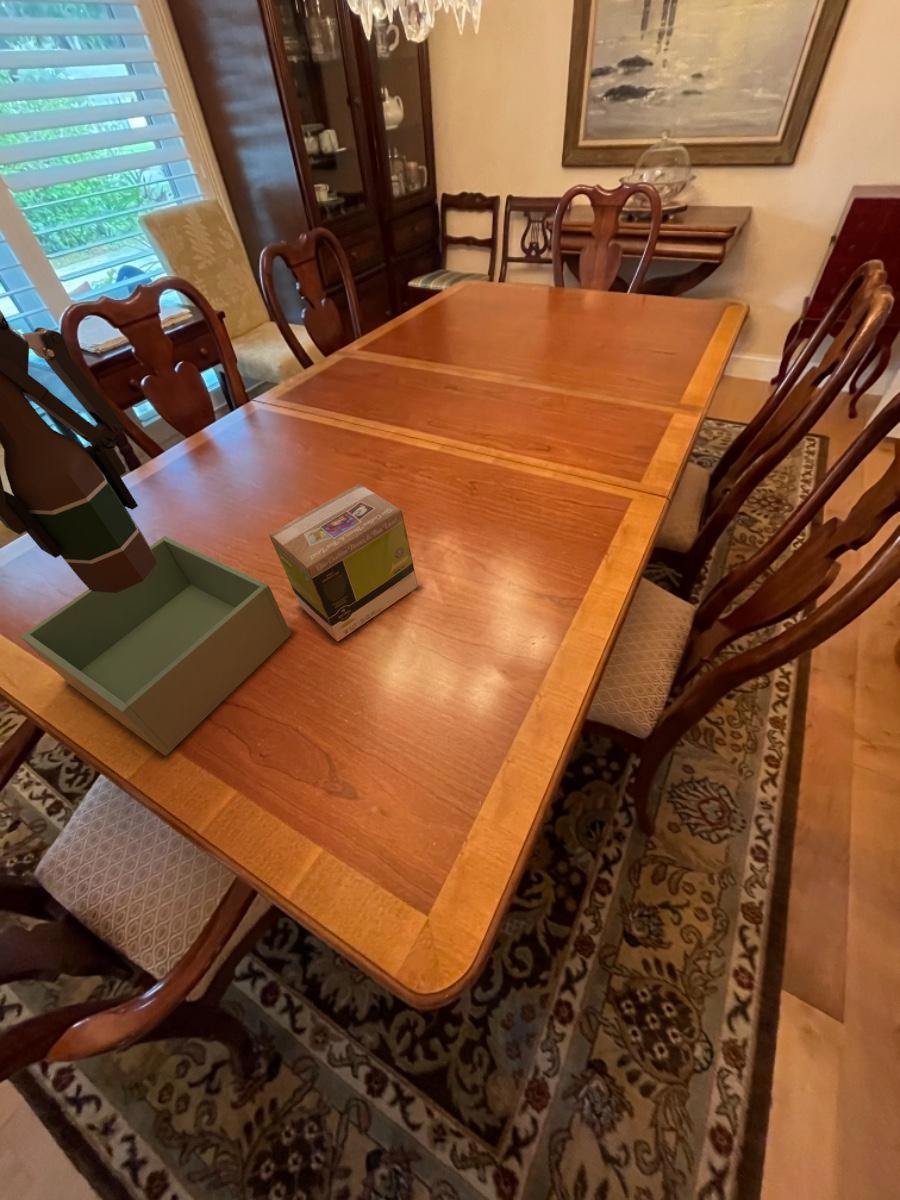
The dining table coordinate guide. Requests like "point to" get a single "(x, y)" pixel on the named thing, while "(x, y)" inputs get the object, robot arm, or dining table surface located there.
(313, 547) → the tea box
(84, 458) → the beer bottle
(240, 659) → the open storage bin
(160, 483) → the dining table surface
